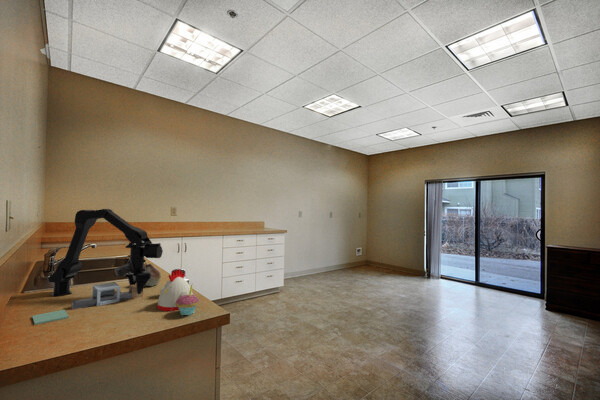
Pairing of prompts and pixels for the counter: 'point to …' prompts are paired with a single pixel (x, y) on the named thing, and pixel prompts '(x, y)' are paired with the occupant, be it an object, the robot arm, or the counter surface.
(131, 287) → the block
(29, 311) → the counter surface
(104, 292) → the tunnel
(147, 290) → the counter surface
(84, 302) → the bar
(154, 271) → the grey rounded lump
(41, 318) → the coaster
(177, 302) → the cupcake
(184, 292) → the kitchen timer
